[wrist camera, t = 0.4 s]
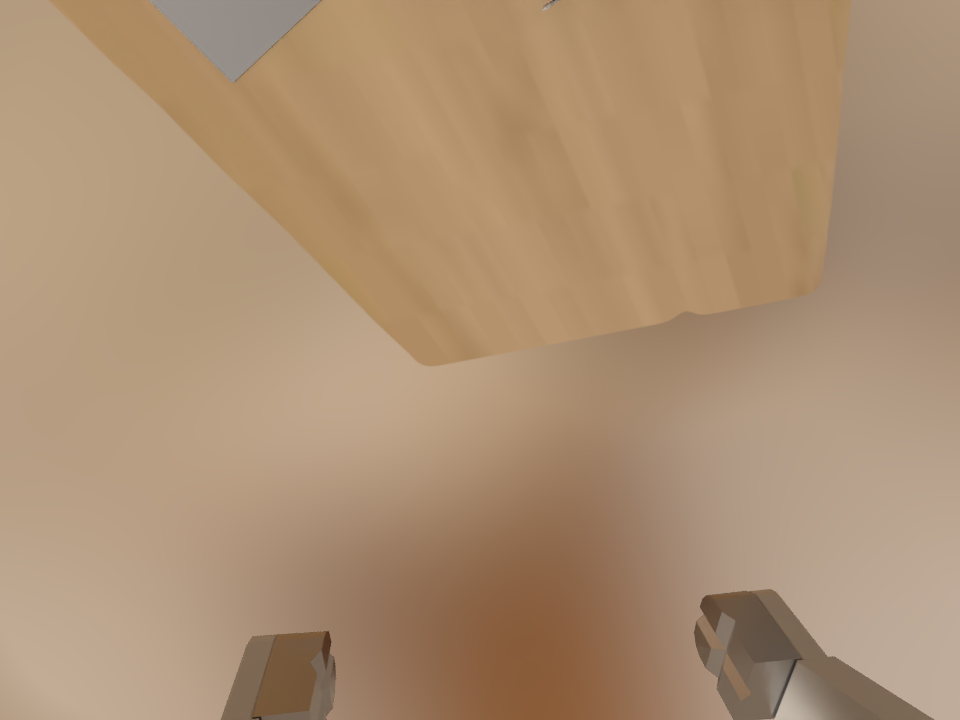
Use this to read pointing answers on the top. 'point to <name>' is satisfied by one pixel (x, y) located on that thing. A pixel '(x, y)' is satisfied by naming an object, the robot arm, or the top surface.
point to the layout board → (234, 27)
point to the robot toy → (549, 4)
